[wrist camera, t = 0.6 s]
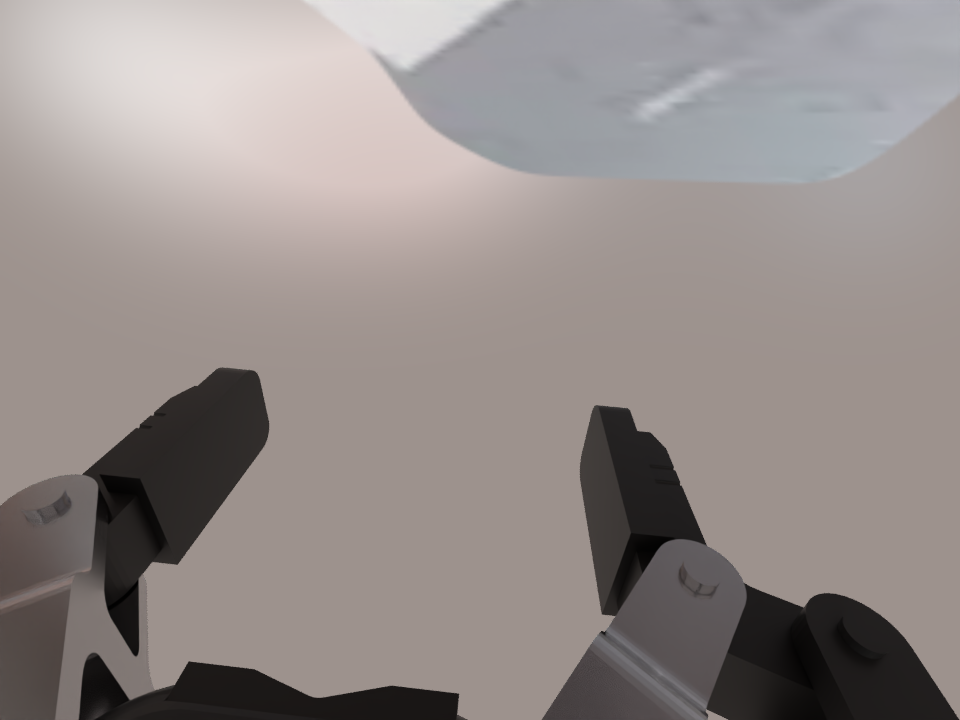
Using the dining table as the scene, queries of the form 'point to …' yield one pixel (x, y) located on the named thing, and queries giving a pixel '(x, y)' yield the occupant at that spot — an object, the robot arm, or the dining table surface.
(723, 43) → the dining table surface
